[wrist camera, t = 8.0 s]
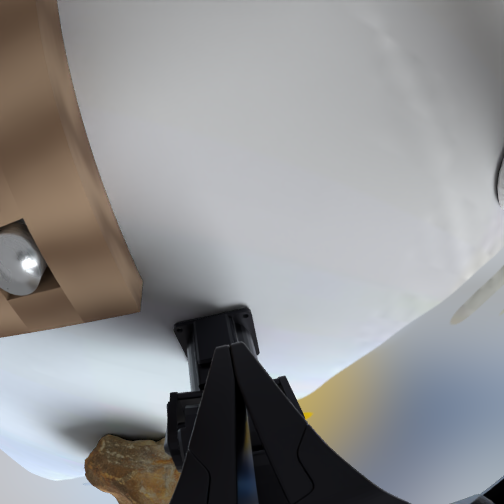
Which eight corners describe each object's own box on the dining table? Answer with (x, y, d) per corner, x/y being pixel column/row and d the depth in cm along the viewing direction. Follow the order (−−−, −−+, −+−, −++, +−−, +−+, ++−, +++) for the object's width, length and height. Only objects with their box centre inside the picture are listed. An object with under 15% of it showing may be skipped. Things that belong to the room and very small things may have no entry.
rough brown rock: (95, 403, 32) (82, 511, 20) (215, 430, 38) (223, 528, 26) (84, 447, 43) (78, 517, 30) (167, 466, 49) (169, 532, 36)
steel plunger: (63, 258, 19) (51, 288, 16) (20, 270, 18) (5, 300, 16) (37, 203, 16) (17, 230, 14) (-7, 222, 16) (-28, 248, 13)
